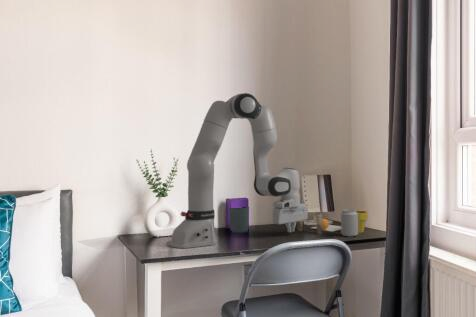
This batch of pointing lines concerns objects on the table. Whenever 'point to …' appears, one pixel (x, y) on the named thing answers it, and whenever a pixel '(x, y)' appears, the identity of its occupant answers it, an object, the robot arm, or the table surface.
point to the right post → (319, 223)
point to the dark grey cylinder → (239, 219)
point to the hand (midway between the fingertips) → (290, 231)
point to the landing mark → (330, 228)
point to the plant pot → (361, 220)
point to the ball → (325, 224)
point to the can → (349, 223)
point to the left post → (300, 225)
